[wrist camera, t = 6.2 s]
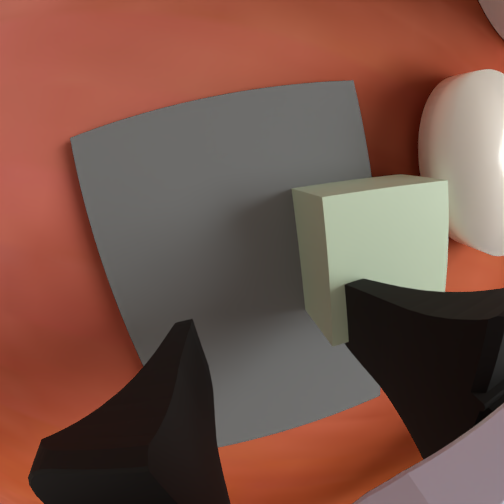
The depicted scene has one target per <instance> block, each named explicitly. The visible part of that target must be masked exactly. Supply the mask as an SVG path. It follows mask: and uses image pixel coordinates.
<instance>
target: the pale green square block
mask: <svg viewBox="0 0 504 504" xmlns="http://www.w3.org/2000/svg"><path fill="white" fill-rule="evenodd" d="M291 189H292V197H293V205H294V212H295V220H296V228H297V237H298V245H299V254H300V263H301V272H302V282H303V292H304V302H305V310H306V311H307V313H308V314H309V315H310V317H311V318H312V320H313V321H314V322H315V324H316V325H317V326H318V328H319V329H320V330H321V332H322V333H323V334H324V336H325V337H326V339H327V340H328V341H329V343H330V344H331V345H332V347H333V346H337V345H340V344H343V343H346V342H349V339H348V323H347V309H346V297H345V285H344V284H347V283H350V282H353V281H357V280H360V279H363V278H364V279H368V280H372V281H377V282H381V283H386V284H390V285H395V286H400V287H406V288H412V289H418V290H426V291H439V292H445V285H446V273H447V258H448V234H449V200H448V180H442V179H435V178H428V177H420V176H412V175H404V174H397V175H388V176H379V177H371V178H362V179H355V180H347V181H339V182H332V183H325V184H318V185H311V186H304V187H298V188H291Z"/></svg>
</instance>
